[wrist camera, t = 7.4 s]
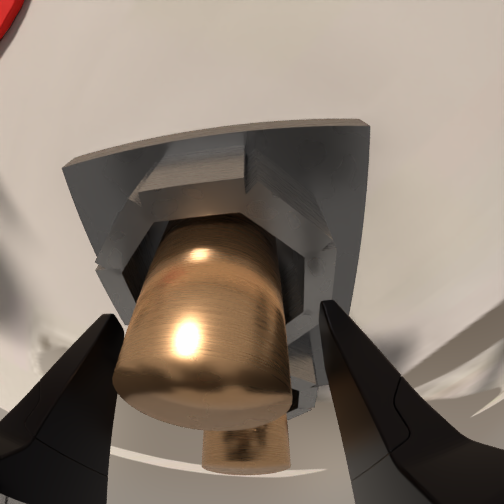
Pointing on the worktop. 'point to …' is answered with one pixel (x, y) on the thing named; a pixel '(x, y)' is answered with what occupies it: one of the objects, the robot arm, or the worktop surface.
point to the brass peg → (209, 329)
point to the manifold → (255, 208)
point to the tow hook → (8, 13)
